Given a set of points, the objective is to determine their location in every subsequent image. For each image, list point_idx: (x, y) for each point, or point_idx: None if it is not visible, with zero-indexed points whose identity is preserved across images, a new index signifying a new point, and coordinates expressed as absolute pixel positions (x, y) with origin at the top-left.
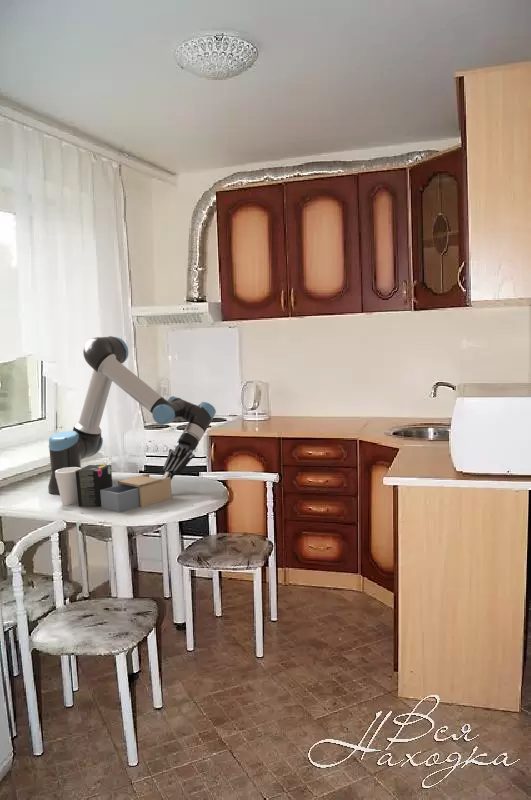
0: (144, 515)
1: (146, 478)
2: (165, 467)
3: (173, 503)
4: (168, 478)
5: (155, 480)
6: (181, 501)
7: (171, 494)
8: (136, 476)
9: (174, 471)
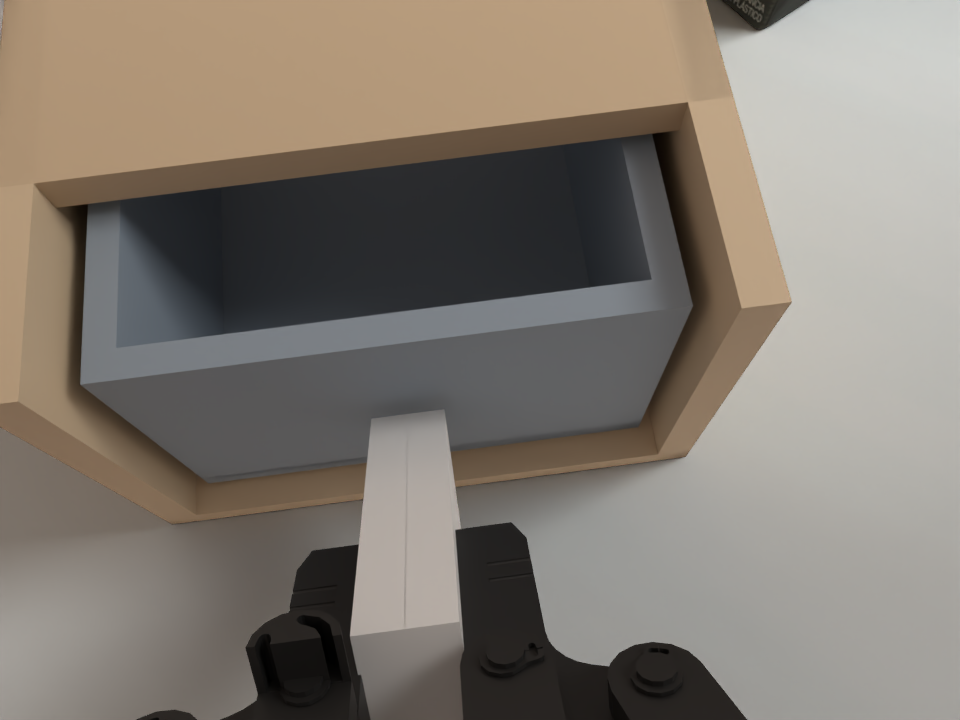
0: (2, 12)
1: (365, 56)
2: (630, 709)
3: (71, 474)
4: None
5: (54, 75)
6: (43, 614)
7: (131, 496)
8: (699, 23)
9: (158, 717)
